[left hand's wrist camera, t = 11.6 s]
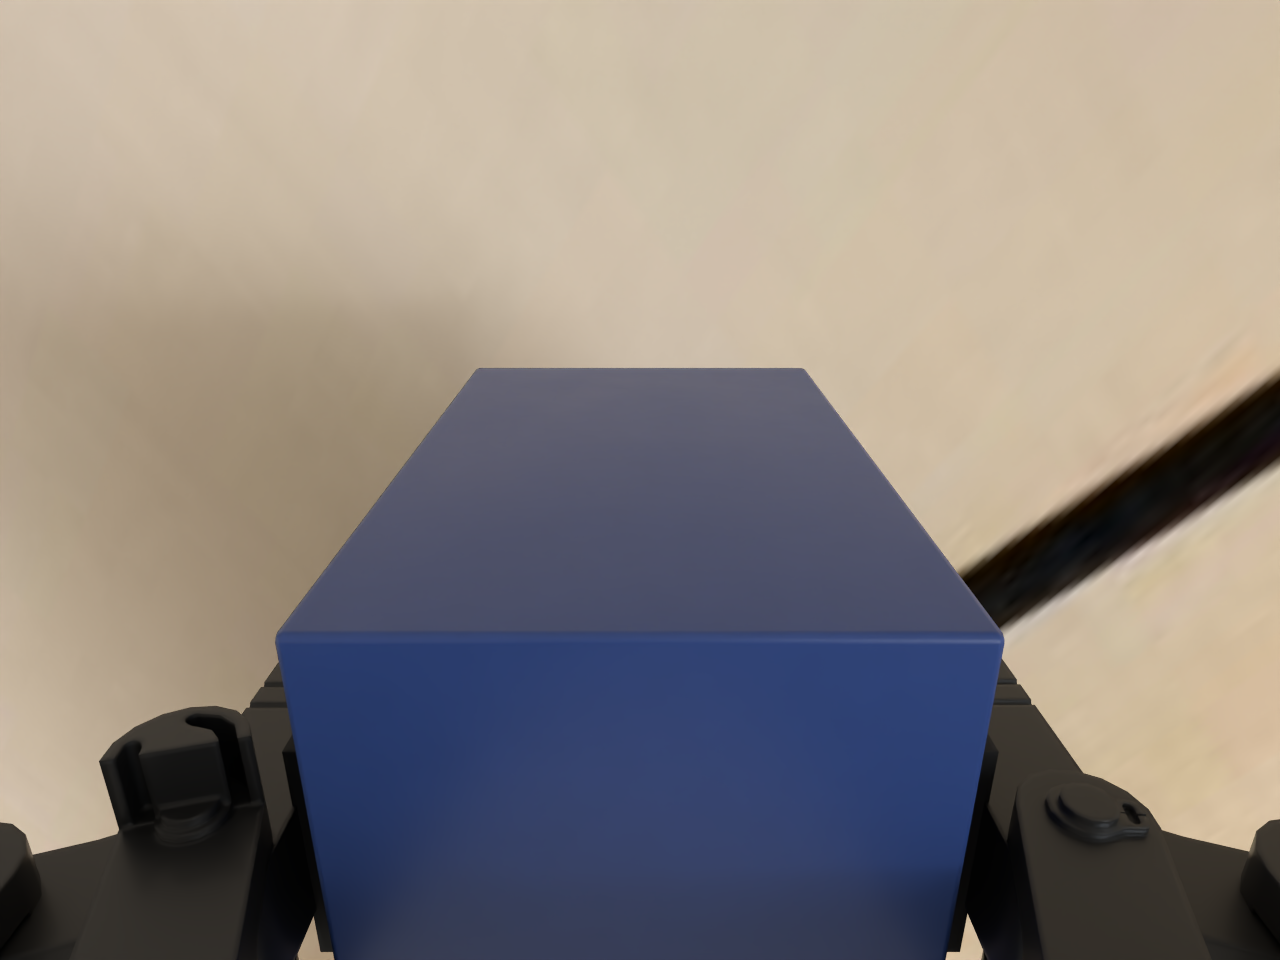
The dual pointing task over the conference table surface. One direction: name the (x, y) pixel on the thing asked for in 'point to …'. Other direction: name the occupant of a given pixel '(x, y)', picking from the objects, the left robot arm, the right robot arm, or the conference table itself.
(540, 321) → the conference table surface
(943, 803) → the bar
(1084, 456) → the conference table surface
